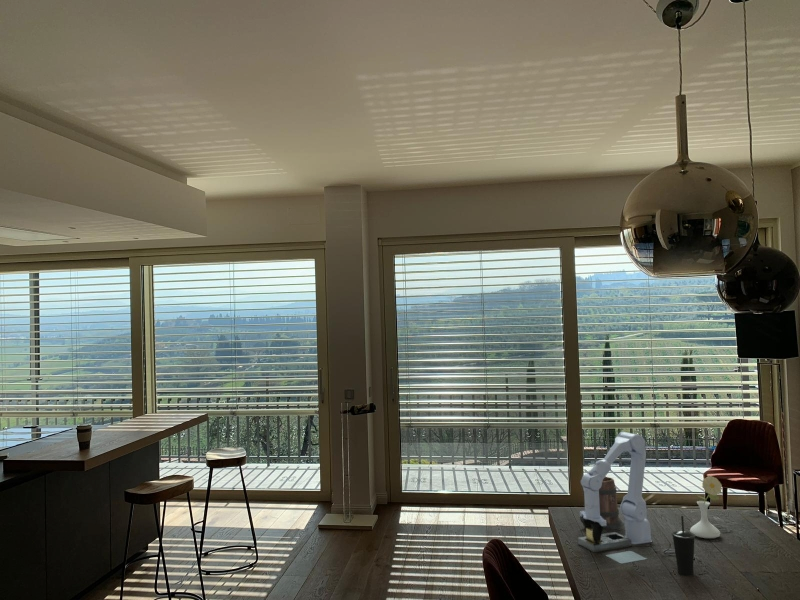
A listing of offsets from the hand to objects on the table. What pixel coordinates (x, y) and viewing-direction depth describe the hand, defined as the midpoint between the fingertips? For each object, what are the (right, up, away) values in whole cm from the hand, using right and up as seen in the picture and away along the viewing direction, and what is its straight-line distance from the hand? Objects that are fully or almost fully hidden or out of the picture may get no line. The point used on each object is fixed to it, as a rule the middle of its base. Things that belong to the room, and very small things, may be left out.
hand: (593, 539), depth 234 cm
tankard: (+12, -5, +28) cm, 31 cm away
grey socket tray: (+5, -3, +1) cm, 6 cm away
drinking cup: (+24, -1, -27) cm, 36 cm away
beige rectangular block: (0, -3, 0) cm, 3 cm away
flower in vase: (+51, -3, +9) cm, 52 cm away
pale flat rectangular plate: (+8, -2, -12) cm, 15 cm away
